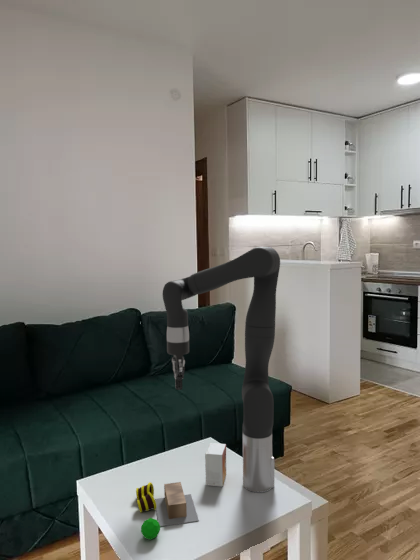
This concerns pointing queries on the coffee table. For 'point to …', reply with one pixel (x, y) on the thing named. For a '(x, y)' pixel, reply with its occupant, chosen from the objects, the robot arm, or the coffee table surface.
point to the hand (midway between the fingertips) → (178, 389)
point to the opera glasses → (146, 497)
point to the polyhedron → (150, 528)
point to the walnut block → (175, 500)
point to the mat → (165, 520)
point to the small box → (215, 464)
